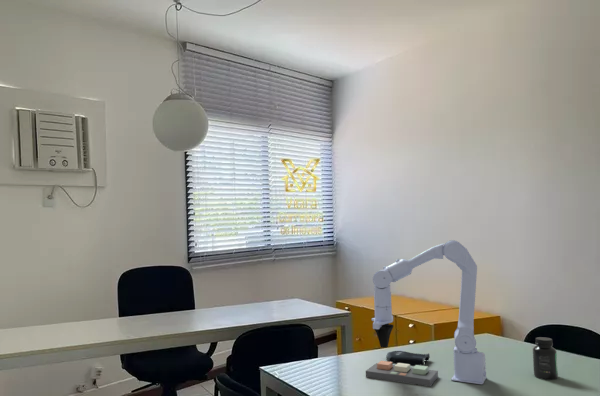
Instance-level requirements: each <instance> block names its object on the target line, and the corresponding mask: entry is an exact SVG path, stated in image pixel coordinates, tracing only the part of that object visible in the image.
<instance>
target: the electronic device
mask: <svg viewBox="0 0 600 396" xmlns="http://www.w3.org/2000/svg"><path fill="white" fill-rule="evenodd" d="M430 358H431V357H430V353H414V352H409V351H403V350H393V351H389V352H387V353H386V357H385V359H386V360H387V361H388V362H393V363H396V364H397V363H404V364H410V365H413V366H416V365H420V366H425V365H424V362H425V364H427V362H426V361H424V360H428V361H429V360H430Z"/></svg>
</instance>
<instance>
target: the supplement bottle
mask: <svg viewBox="0 0 600 396" xmlns="http://www.w3.org/2000/svg"><path fill="white" fill-rule="evenodd" d="M553 346H554V343H553V338H550V337H542V336H539V337H535V346H533V348H532V363H533V365H532V366H533V375H534V377H535V378H537V379H541V380H546V381H554V380H557V379H558V376H559V372H558V371H559V370H558V356H557V355H558V353H557V350H556V348H554V347H553Z"/></svg>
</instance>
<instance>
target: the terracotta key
mask: <svg viewBox="0 0 600 396" xmlns="http://www.w3.org/2000/svg"><path fill="white" fill-rule="evenodd" d="M376 363H377V369H384V370H390V369H391V368H392V367H393V365H394V364H393V363H394V362H390V361H388V360H387V361H386V360H380V361H379V362H376Z"/></svg>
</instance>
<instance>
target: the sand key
mask: <svg viewBox="0 0 600 396" xmlns="http://www.w3.org/2000/svg"><path fill="white" fill-rule="evenodd" d="M410 367H411V364H404V363H396V364H395V366H394V368H395V371H399V372H406V373H407V372H408V371H409V370H410Z"/></svg>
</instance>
